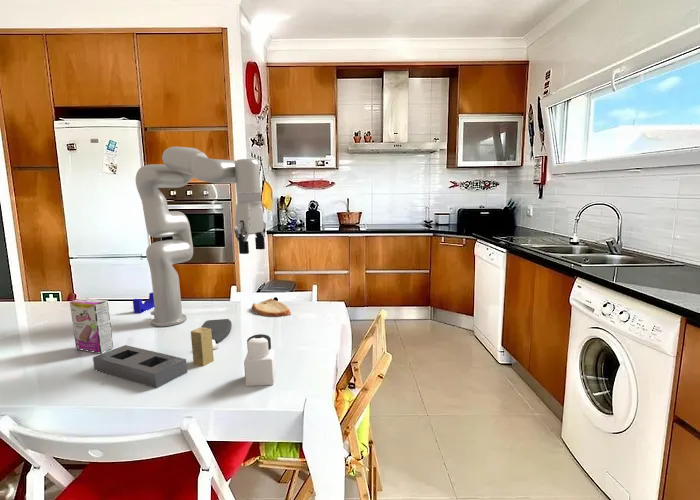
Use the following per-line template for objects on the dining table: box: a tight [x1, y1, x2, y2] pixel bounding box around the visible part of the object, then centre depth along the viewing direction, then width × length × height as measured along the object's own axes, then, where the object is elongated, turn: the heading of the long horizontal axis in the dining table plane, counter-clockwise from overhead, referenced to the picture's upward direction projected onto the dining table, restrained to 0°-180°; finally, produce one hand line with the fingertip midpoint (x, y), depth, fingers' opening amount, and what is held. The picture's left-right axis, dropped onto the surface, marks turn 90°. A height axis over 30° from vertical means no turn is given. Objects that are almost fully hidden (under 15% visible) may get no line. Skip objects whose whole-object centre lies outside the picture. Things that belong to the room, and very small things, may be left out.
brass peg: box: [190, 326, 215, 367], centre depth 122 cm, size 4×4×10 cm
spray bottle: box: [200, 318, 233, 350], centre depth 143 cm, size 3×11×24 cm
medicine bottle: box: [243, 333, 277, 387], centre depth 110 cm, size 7×7×12 cm
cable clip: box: [132, 291, 155, 314], centre depth 180 cm, size 12×4×6 cm, turn 169°
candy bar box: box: [69, 297, 114, 354], centre depth 134 cm, size 11×5×16 cm, turn 71°
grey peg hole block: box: [92, 344, 188, 389], centre depth 117 cm, size 26×10×4 cm, turn 63°
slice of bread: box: [251, 298, 292, 318], centre depth 173 cm, size 18×18×4 cm
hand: (252, 251), depth 135 cm, fingers open, 9 cm apart
